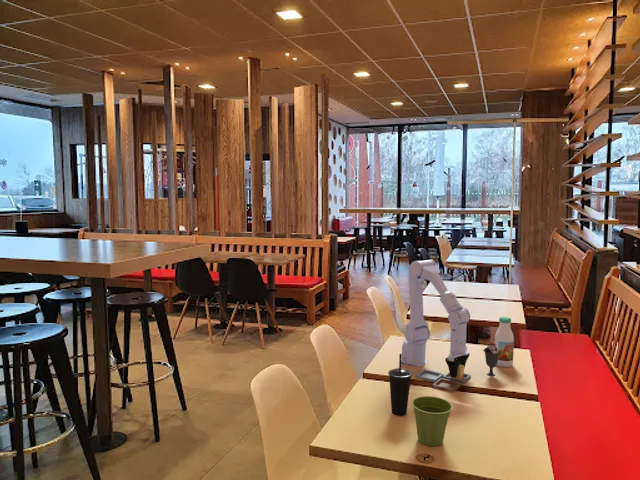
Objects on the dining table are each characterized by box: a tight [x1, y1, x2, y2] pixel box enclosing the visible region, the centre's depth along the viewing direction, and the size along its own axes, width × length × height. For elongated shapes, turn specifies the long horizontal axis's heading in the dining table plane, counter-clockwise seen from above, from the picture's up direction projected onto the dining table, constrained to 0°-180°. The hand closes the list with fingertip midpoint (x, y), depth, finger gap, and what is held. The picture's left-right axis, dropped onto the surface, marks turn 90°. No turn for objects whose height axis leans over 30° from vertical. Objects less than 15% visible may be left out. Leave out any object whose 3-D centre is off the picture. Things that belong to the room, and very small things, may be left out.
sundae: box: [482, 337, 501, 377], centre depth 201 cm, size 7×7×15 cm
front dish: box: [431, 377, 462, 393], centre depth 190 cm, size 8×8×2 cm
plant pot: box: [411, 395, 454, 447], centre depth 150 cm, size 12×12×11 cm
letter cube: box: [450, 364, 465, 380], centre depth 197 cm, size 4×4×5 cm
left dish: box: [415, 368, 445, 383], centre depth 199 cm, size 8×8×2 cm
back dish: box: [442, 371, 472, 385], centre depth 198 cm, size 8×8×2 cm
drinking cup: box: [387, 353, 413, 417], centre depth 168 cm, size 8×8×20 cm
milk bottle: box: [493, 316, 515, 368], centre depth 213 cm, size 8×8×20 cm
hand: (457, 374), depth 198 cm, fingers open, 7 cm apart
